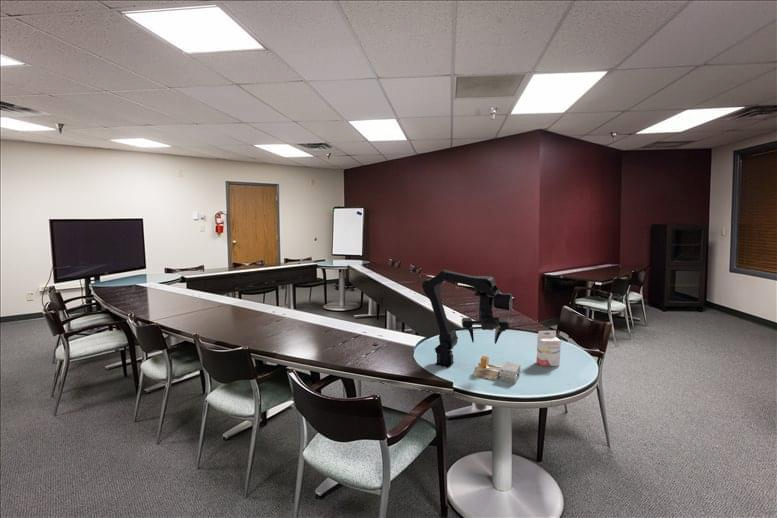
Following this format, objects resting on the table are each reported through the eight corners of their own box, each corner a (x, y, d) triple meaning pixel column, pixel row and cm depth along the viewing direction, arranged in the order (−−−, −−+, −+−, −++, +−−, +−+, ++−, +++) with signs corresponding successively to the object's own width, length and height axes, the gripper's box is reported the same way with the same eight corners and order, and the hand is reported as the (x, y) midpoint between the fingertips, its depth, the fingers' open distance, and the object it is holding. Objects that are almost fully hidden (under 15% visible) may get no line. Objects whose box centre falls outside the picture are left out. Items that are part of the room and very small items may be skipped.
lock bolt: (480, 370, 160) (480, 358, 159) (482, 367, 163) (482, 355, 162) (499, 374, 156) (499, 362, 155) (501, 371, 158) (501, 359, 158)
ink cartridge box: (540, 366, 166) (542, 334, 164) (536, 362, 171) (537, 330, 168) (560, 366, 166) (561, 333, 164) (554, 361, 171) (556, 329, 169)
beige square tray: (473, 375, 158) (473, 368, 158) (480, 366, 167) (480, 360, 166) (495, 380, 153) (496, 373, 153) (502, 371, 162) (502, 364, 161)
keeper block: (500, 380, 154) (500, 368, 153) (505, 372, 160) (505, 361, 160) (515, 383, 150) (515, 371, 150) (520, 375, 157) (520, 364, 156)
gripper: (464, 312, 150) (463, 349, 152) (513, 313, 148) (511, 351, 151) (462, 304, 161) (460, 339, 163) (507, 305, 159) (505, 341, 161)
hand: (484, 343), depth 159 cm, fingers open, 9 cm apart
